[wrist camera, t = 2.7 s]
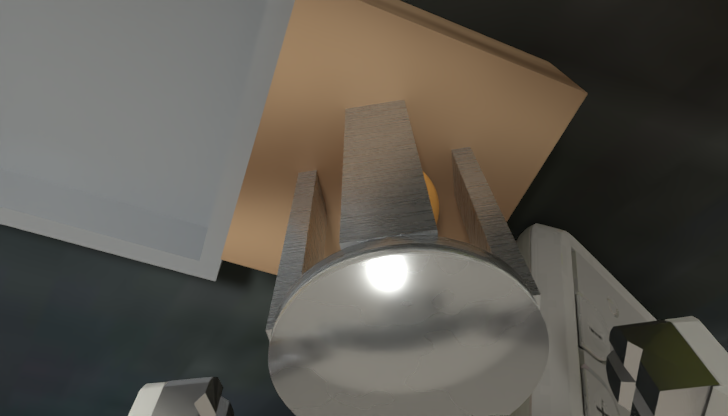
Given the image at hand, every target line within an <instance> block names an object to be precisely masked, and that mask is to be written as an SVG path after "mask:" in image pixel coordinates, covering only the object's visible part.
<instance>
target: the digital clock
mask: <svg viewBox="0 0 728 416" xmlns="http://www.w3.org/2000/svg"><path fill="white" fill-rule="evenodd" d="M516 244H517V246H518V248H519V250H520V252H521V254H522V256H523V258H524V260H525V262H526V265H527V267H528V269H529V271H530V273H531V275H532V277H533V279H534V281H535V283H536V286H537V288H538V290H539V292H540V294H541V303H540V312H541V314H542V317H543V319H544V321H545V323H546V327H547V331H548V335H549V355H548V361H547V365H546V368H545V371H544V374H543V376H542V378H541V379H540V381H539V383H538V385H537V387H536V388H535V389H534V391H533V392H532V393H531V395H530V396H529V397H528V398H527V399H526V401H525V402H524V403H523V404H522V405H521V406H520V407H519V408H517V409H516V410H515V411H514V412H513V413H511V414H510V415H509V416H630V414H631V412H630V411H629V410H627V409H626V408H624V407H623V406H621V405H620V404H618V402H617V400H616V398H615V397H614V395H613V393H612V390H611V388H610V385H609V382H608V377H607V372H606V360H607V355H608V354H609V353H610V352H611V351H612V350H613V349H614V348H613V347H612V345H611V343H610V342H609V336H610V331H611V329H612V328H613V326H620V325H627V324H635V323H642V322H649V321H657V320H656V319H655V318H654V317H653V316H652V315H651V314H650V313H649V312H648V311H647V310H646V309H645V308H644V307H643V306H642V305H641V304H640V303H639V302H638V301H637V300H636V299H635V298H634V297H633V296H632V295H631V294H630V293H629V292H628V291H627V290H626V289H625V288H624V287H623V286H622V285H621V284H620V283H619V282H618V281H617V280H616V279H615V278H614V277H613V276H612V275H611V274H610V273H609V272H608V271H607V270H606V269H605V268H604V267H603V266H602V265H601V264H600V263H599V262H598V261H597V260H596V259H595V258H594V257H593V256H592V255H591V254H590V253H589V252H588V251H587V250H586V249H585V248H584V247H583V246H582V245H581V244H580V243H579V242H578V241H577V240H576V239H575V238H574V237H573V236H572V235H571V234H569V233H568V232H566V231H564V230H561V229H557V228H553V227H550V226H546V225H542V224H538V223H535V224H534V225H531V226H530V227H528V228H526V229H525V230H524V231H523V232H522V233H521V234H520V235H519V237H518V239H517V241H516Z"/></svg>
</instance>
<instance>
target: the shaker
mask: <svg viewBox="0 0 728 416" xmlns="http://www.w3.org/2000/svg"><path fill="white" fill-rule="evenodd" d="M452 164H453V178H454V191H455V199H456V202H457V205H458V208H459V211H460V214H461V217H462V220H463V223H464V225H465V228H466V231H467V234H468V237H469V240H470V243H471V244H469V243H466V242H463V241H459V240H455V239H451V238H446V237H438V231H437V226H436V222H435V218H434V214H433V210H432V207H431V203H430V199H429V195H428V191H427V187H426V183H425V179H424V175H423V171H422V167H421V163H420V159H419V156H418V152H417V148H416V144H415V140H414V136H413V132H412V128H411V124H410V120H409V116H408V112H407V108H406V104H405V101H404V100H398V101H392V102H386V103H379V104H373V105H367V106H360V107H354V108H348V109H345V131H344V153H343V175H342V197H341V219H340V240H339V244H340V248H341V250H340V251H338V252H335V253H333V254H331V255H329V256H328V257H326V258H324V250H325V239H326V227H327V212H326V208H325V203H324V199H323V195H322V191H321V187H320V182H319V178H318V174H317V170H314V171H308V172H301V173H299V174H298V178H297V183H296V188H295V193H294V197H293V202H292V207H291V212H290V216H289V221H288V226H287V231H286V235H285V240H284V245H283V250H282V254H281V259H280V264H279V269H278V273H277V278H276V283H275V288H274V293H273V297H272V302H271V307H270V312H269V316H268V321H267V326H266V332H267V335H268V338H269V341H270V344H269V353H268V364H269V372H270V376H271V379H272V382H273V385H274V387H275V389H276V391H277V393H278V395H279V396H280V397H281V399H282V400H283V402H284V403H285V404H286V406H287V407H288V408H289V409H290V410H291V411H292V412H293V413H294V414H295V415H297V416H509V415H510V414H511V413H513V412H514V411H515V410H516V409H517V408H519V407H520V406H521V405H522V404H523V403H524V402H525V401H526V399H527V398H528V397H529V396H530V395H531V393H532V392H533V391H534V389H535V388H536V387H537V385H538V383H539V381H540V379H541V378H542V376H543V374H544V371H545V368H546V365H547V361H548V355H549V335H548V331H547V327H546V323H545V321H544V319H543V317H542V314H541V312H540V303H541V294H540V292H539V290H538V288H537V286H536V283H535V281H534V279H533V277H532V275H531V273H530V271H529V269H528V267H527V265H526V262H525V260H524V258H523V256H522V254H521V252H520V250H519V248H518V246H517V244H516V242H515V239H514V237H513V235H512V233H511V231H510V229H509V227H508V225H507V223H506V221H505V219H504V216H503V214H502V212H501V210H500V208H499V206H498V204H497V202H496V200H495V198H494V196H493V193H492V191H491V189H490V187H489V185H488V183H487V181H486V179H485V177H484V175H483V173H482V170H481V168H480V166H479V164H478V162H477V160H476V158H475V156H474V154H473V152H472V150H471V147H466V148H460V149H453V150H452Z"/></svg>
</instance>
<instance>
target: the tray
mask: <svg viewBox="0 0 728 416" xmlns="http://www.w3.org/2000/svg"><path fill="white" fill-rule="evenodd" d="M294 2H295V0H0V224H3V225H7V226H10V227H14V228H18V229H21V230H25V231H29V232H33V233H36V234H40V235H44V236H48V237H51V238H55V239H59V240H63V241H66V242H70V243H74V244H77V245H81V246H85V247H89V248H92V249H96V250H100V251H104V252H107V253H111V254H115V255H118V256H122V257H126V258H130V259H133V260H137V261H141V262H145V263H148V264H152V265H156V266H160V267H163V268H167V269H171V270H174V271H178V272H182V273H186V274H189V275H193V276H197V277H201V278H204V279H208V280H212V281H216V279H217V276H218V273H219V271H220V268H221V265H222V263H223V260H221V256H222V252H223V249H224V245H225V242H226V238H227V235H228V232H229V228H230V225H231V221H232V218H233V214H234V211H235V207H236V204H237V200H238V197H239V193H240V190H241V186H242V183H243V179H244V176H245V173H246V169H247V166H248V162H249V159H250V155H251V152H252V148H253V145H254V141H255V138H256V134H257V131H258V127H259V124H260V120H261V117H262V113H263V110H264V107H265V103H266V100H267V96H268V93H269V89H270V86H271V82H272V79H273V75H274V72H275V68H276V65H277V61H278V58H279V54H280V51H281V48H282V44H283V41H284V37H285V34H286V30H287V27H288V23H289V20H290V16H291V13H292V9H293V6H294Z"/></svg>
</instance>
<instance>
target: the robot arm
mask: <svg viewBox="0 0 728 416" xmlns="http://www.w3.org/2000/svg"><path fill="white" fill-rule="evenodd" d="M609 342H610V343H611V345H612V347H613V348H614V349H613V350H612V351H611V352H610V353H609V354H608V355H607V360H606V372H607V377H608V382H609V385H610V388H611V390H612V393H613V395H614V397H615V398H616V400H617V402H618V404H620V405H621V406H623V407H624V408H626V409H627V410H629V411H630V412H631V414H630V416H728V353H727V351H726V350H725V349H724V348H723V347H722V346H721V345H720V343H719V342H718V341H717V340H716V339H715V338H714V336H713V335H712V334H711V333H710V332H709V331H708V330H707V328H706V327H705V326H704V325H703V324H702V323H701V321H700V320H699V319H697V318H695V317H693V316H689V317H681V318H673V319H666V320H657V321H649V322H642V323H635V324H627V325H620V326H613V328H612V329H611V331H610V336H609ZM222 390H223V386H222V384H221V382H220V380H219V379H218V377H206V378H196V379H186V380H175V381H168V382H159V383H149V384H146V385H145V386H143V387H142V388H141V389H140V391H139V393H138V395H137V397H136V399H135V401H134V404H133V406H132V408H131V410H130V412H129V414H128V416H234V412H233V408H232V406H231V404H230V401H228V400H226V399H225V398H223V397H221V394H222Z"/></svg>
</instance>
